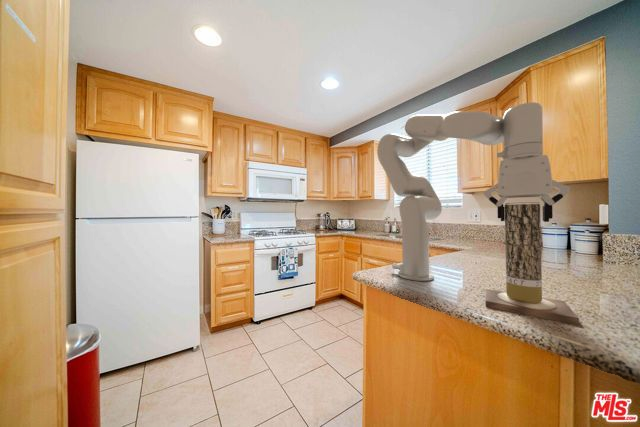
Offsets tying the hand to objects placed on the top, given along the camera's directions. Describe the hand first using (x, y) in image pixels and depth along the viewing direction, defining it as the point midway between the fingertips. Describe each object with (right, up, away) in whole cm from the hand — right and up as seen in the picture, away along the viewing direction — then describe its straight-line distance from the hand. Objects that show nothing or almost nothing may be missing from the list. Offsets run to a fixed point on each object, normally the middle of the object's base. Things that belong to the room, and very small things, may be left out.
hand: (523, 221), depth 57 cm
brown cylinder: (0, -21, 0) cm, 21 cm away
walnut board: (0, -22, 0) cm, 22 cm away
